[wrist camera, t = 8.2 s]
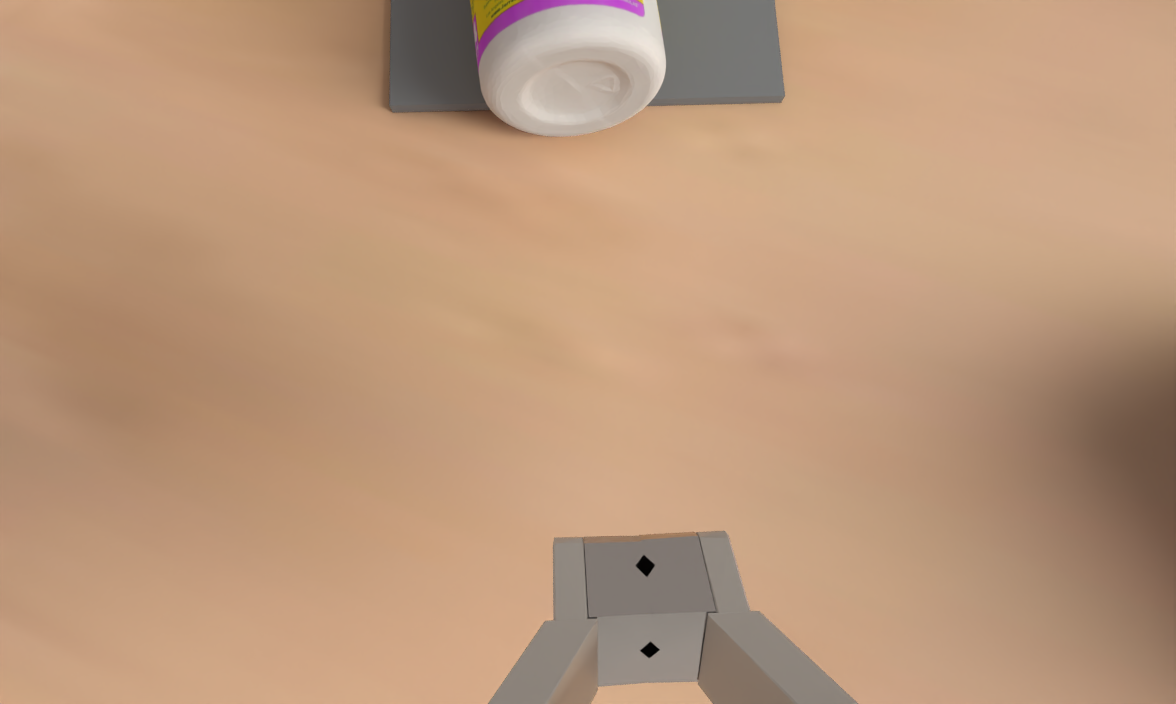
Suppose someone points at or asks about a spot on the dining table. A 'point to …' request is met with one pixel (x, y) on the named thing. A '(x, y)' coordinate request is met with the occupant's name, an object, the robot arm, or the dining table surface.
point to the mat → (690, 35)
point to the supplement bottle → (568, 62)
